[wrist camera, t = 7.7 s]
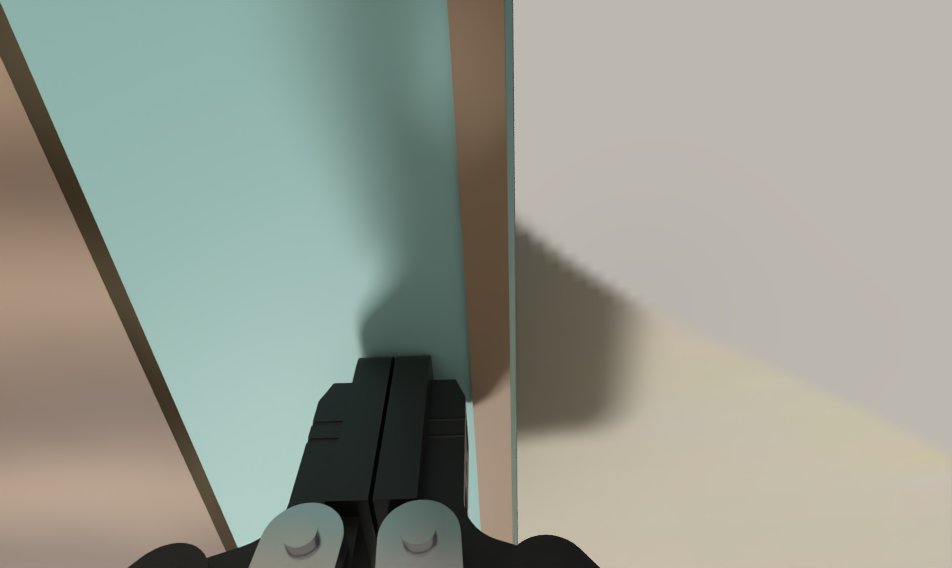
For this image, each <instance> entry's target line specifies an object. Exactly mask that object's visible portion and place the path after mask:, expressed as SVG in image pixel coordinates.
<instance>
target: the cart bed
mask: <svg viewBox="0 0 952 568" xmlns="http://www.w3.org/2000/svg"><path fill="white" fill-rule="evenodd" d="M172 543H188V544H192V545H194V546H196V547H198V548H199V549H201V550H202V551H203V553H204V554H205V556H206V558H208V557H211V556H214V555H217V554H220V553H223V552H226V551H229V550H233V549H236V548H238V547H237V545H236V542H235V540H234V538H233V535H232V533H231V531H230V529H229V526H228V524H227V522H226V519H225V517H224V515H223V512H222V510H221V508H220V506H219V503H218V501H217V499H216V496H215V494H214V492H213V489H212V487H211V485H210V483H209V480H208V478H207V476H206V473H205V471H204V469H203V467H202V464H201V462H200V460H199V457H198V455H197V453H196V450H195V448H194V446H193V444H192V441H191V439H190V437H189V434H188V432H187V430H186V427H185V425H184V423H183V421H182V418H181V416H180V414H179V411H178V409H177V407H176V405H175V402H174V400H173V398H172V395H171V393H170V391H169V388H168V386H167V384H166V382H165V379H164V377H163V375H162V372H161V370H160V368H159V365H158V363H157V361H156V359H155V356H154V354H153V352H152V349H151V347H150V345H149V343H148V340H147V338H146V336H145V333H144V331H143V329H142V326H141V324H140V322H139V320H138V317H137V315H136V313H135V310H134V308H133V306H132V303H131V301H130V299H129V297H128V294H127V292H126V290H125V287H124V285H123V283H122V281H121V278H120V276H119V274H118V271H117V269H116V267H115V264H114V262H113V260H112V258H111V255H110V253H109V251H108V248H107V246H106V244H105V241H104V239H103V237H102V235H101V232H100V230H99V228H98V225H97V223H96V221H95V219H94V216H93V214H92V212H91V209H90V207H89V205H88V202H87V200H86V198H85V196H84V193H83V191H82V189H81V186H80V184H79V182H78V179H77V177H76V175H75V173H74V170H73V168H72V166H71V163H70V161H69V159H68V157H67V154H66V152H65V150H64V147H63V145H62V143H61V140H60V138H59V136H58V134H57V131H56V129H55V127H54V124H53V122H52V120H51V117H50V115H49V113H48V111H47V108H46V106H45V104H44V101H43V99H42V97H41V94H40V92H39V90H38V88H37V85H36V83H35V81H34V78H33V76H32V74H31V72H30V69H29V67H28V65H27V62H26V60H25V58H24V55H23V53H22V51H21V49H20V46H19V44H18V42H17V39H16V37H15V35H14V32H13V30H12V28H11V26H10V23H9V21H8V19H7V16H6V14H5V12H4V10H3V7H2V5H1V3H0V568H128V567H129V566H130V565H132V564H133V563H134V562H136V561H137V560H138V559H139V558H141V557H142V556H144V555H145V554H147V553H148V552H150V551H152V550H154V549H156V548H159V547H161V546H164V545H168V544H172Z"/></svg>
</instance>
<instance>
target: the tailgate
mask: <svg viewBox="0 0 952 568" xmlns="http://www.w3.org/2000/svg"><path fill="white" fill-rule="evenodd" d="M0 3H1V5H2V7H3V10H4V12H5V14H6V16H7V19H8V21H9V23H10V26H11V28H12V30H13V32H14V35H15V37H16V39H17V42H18V44H19V46H20V49H21V51H22V53H23V55H24V58H25V60H26V62H27V65H28V67H29V69H30V72H31V74H32V76H33V78H34V81H35V83H36V85H37V88H38V90H39V92H40V94H41V97H42V99H43V101H44V104H45V106H46V108H47V111H48V113H49V115H50V117H51V120H52V122H53V124H54V127H55V129H56V131H57V134H58V136H59V138H60V140H61V143H62V145H63V147H64V150H65V152H66V154H67V157H68V159H69V161H70V163H71V166H72V168H73V170H74V173H75V175H76V177H77V179H78V182H79V184H80V186H81V189H82V191H83V193H84V196H85V198H86V200H87V202H88V205H89V207H90V209H91V212H92V214H93V216H94V219H95V221H96V223H97V225H98V228H99V230H100V232H101V235H102V237H103V239H104V241H105V244H106V246H107V248H108V251H109V253H110V255H111V258H112V260H113V262H114V264H115V267H116V269H117V271H118V274H119V276H120V278H121V281H122V283H123V285H124V287H125V290H126V292H127V294H128V297H129V299H130V301H131V303H132V306H133V308H134V310H135V313H136V315H137V317H138V320H139V322H140V324H141V326H142V329H143V331H144V333H145V336H146V338H147V340H148V343H149V345H150V347H151V349H152V352H153V354H154V356H155V359H156V361H157V363H158V365H159V368H160V370H161V372H162V375H163V377H164V379H165V382H166V384H167V386H168V388H169V391H170V393H171V395H172V398H173V400H174V402H175V405H176V407H177V409H178V411H179V414H180V416H181V418H182V421H183V423H184V425H185V427H186V430H187V432H188V434H189V437H190V439H191V441H192V444H193V446H194V448H195V450H196V453H197V455H198V457H199V460H200V462H201V464H202V467H203V469H204V471H205V473H206V476H207V478H208V480H209V483H210V485H211V487H212V489H213V492H214V494H215V496H216V499H217V501H218V503H219V506H220V508H221V510H222V512H223V515H224V517H225V519H226V522H227V524H228V526H229V529H230V531H231V533H232V535H233V538H234V540H235V542H236V545H237V547H238V548H239V547H242V546H244V545H247V544H250V543H252V542H254V541H255V540H257V539H259V538H261V536H262V534H263V532H264V530H265V528H266V527H267V526H268V524H269V523H270V522H271V521H272V520H273V519H274V518H275V517H276V516H277V515H279V514H280V513H282V512H283V511H285V510H286V509H287V506H288V504H289V500H290V497H291V493H292V490H293V487H294V483H295V480H296V476H297V473H298V470H299V466H300V463H301V459H302V456H303V453H304V449H305V446H306V443H308V436H309V432H310V429H311V426H312V425H313V418H314V415H315V412H316V408H317V405H318V401H319V400H320V399H321V398H322V397H323V395H324V394H325V393H326V392H327V391H328V390H329V388H330V387H331V386H332V385H333V384H334V383H352V381H353V377H354V373H355V368H356V364H357V361H358V359H359V358H369V357H394V358H395V359H396V357H397V356H426V355H431V359H432V369H433V378H434V380H449V379H456V381H457V382H458V384H459V386H460V388H461V390H462V391H463V393H464V395H465V397H466V412H467V427H468V441H469V483H468V517H469V519H470V520H471V522H472V523H473V524H474V525H475V526H476V527H477V528H478V529H479V530H480V531H482V532H483V533H484V534H486V535H488V536H490V537H492V538H495V539H498V540H501V541H504V542H508V543H511V544H514V545H518V510H517V397H516V284H515V177H514V174H515V171H514V62H513V59H514V58H513V0H0Z"/></svg>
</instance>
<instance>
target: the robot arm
mask: <svg viewBox="0 0 952 568" xmlns="http://www.w3.org/2000/svg"><path fill="white" fill-rule="evenodd" d="M468 483H469V441H468V427H467V412H466V397H465V395H464V393H463V391H462V390H461V388H460V386H459V384H458V382H457V381H456V379H449V380H434V378H433V369H432V359H431V355H426V356H397V357H396V359H395V358H394V357H369V358H359V359H358V361H357V364H356V368H355V373H354V377H353V381H352V383H334V384H333V385H332V386H331V387H330V388H329V390H328V391H327V392H326V393H325V394H324V395H323V397H322V398H321V399H320V400H319V401H318V405H317V408H316V412H315V415H314V418H313V425H312V426H311V429H310V432H309V436H308V443H306V446H305V449H304V453H303V456H302V459H301V463H300V466H299V470H298V473H297V476H296V480H295V483H294V487H293V490H292V493H291V497H290V500H289V504H288V506H287V509H286V510H285V511H283V512H282V513H280V514H279V515H277V516H276V517H275V518H274V519H273V520H272V521H271V522H270V523H269V524H268V526H267V527H266V528H265V530H264V532H263V534H262V536H261V538H259V539H257V540H255V541H254V542H252V543H250V544H247V545H244V546H242V547H239V548H236V549H233V550H229V551H226V552H223V553H220V554H217V555H214V556H211V557H208V558H206V556H205V554H204V553H203V551H202V550H201V549H199V548H198V547H196V546H194V545H192V544H188V543H172V544H168V545H164V546H161V547H159V548H156V549H154V550H152V551H150V552H148V553H147V554H145V555H144V556H142V557H141V558H139V559H138V560H137V561H136V562H134V563H133V564H132V565H130V566H129V567H128V568H600V567H599V566H598V565H597V564H596V563H594V562H593V561H592V560H591V559H590V558H589V557H588V556H587V555H586V554H585V553H584V552H583V551H582V550H581V549H580V548H579V547H577V546H576V545H575V544H574V543H572V542H570V541H569V540H566V539H564V538H561V537H558V536H554V535H538V536H534V537H531V538H528V539H526V540H524V541H522V542H521V543H519V544H518V545H514V544H511V543H508V542H504V541H501V540H498V539H495V538H492V537H490V536H488V535H486V534H484V533H483V532H482V531H480V530H479V529H478V528H477V527H476V526H475V525H474V524H473V523H472V522H471V520H470V519H469V517H468Z"/></svg>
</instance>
